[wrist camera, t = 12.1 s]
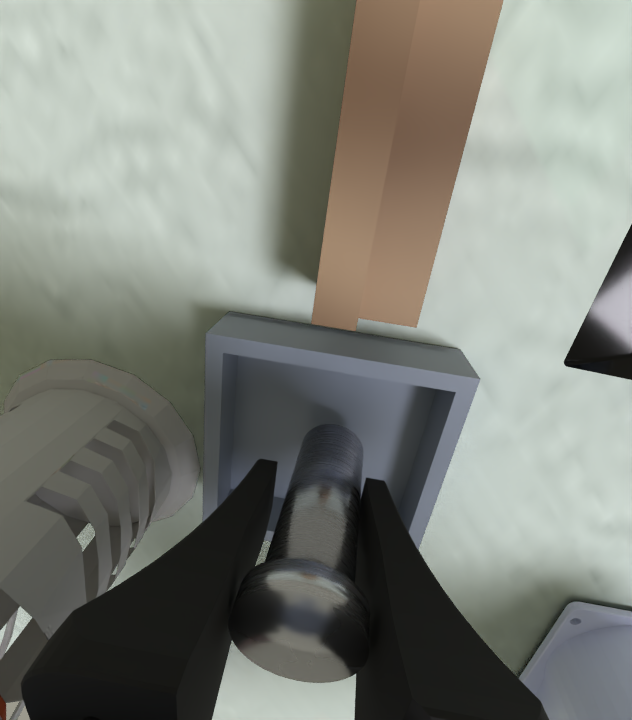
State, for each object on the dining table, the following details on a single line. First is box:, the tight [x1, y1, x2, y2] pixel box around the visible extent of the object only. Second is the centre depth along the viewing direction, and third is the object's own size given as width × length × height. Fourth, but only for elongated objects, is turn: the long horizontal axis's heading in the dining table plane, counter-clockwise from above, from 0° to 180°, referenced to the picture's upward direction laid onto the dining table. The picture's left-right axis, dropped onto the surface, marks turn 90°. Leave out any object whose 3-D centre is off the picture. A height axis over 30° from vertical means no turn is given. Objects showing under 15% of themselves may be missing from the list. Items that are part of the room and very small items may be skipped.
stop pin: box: [228, 424, 370, 683], centre depth 11 cm, size 3×3×7 cm
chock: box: [311, 0, 503, 331], centre depth 10 cm, size 9×3×4 cm, turn 172°
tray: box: [203, 311, 480, 549], centre depth 15 cm, size 9×9×2 cm
